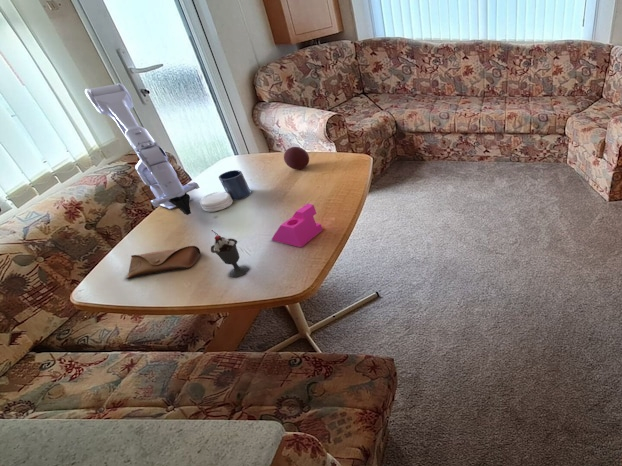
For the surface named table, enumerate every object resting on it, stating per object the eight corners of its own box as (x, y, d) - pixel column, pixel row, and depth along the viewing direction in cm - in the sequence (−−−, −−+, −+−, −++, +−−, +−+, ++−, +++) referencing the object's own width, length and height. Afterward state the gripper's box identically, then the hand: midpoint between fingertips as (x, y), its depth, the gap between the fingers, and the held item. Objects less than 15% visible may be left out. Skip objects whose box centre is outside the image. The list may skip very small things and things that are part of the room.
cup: (224, 197, 151) (214, 177, 146) (242, 188, 157) (233, 168, 152) (237, 201, 148) (226, 181, 143) (255, 192, 154) (245, 172, 149)
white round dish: (238, 203, 147) (234, 195, 145) (211, 215, 141) (207, 207, 139) (225, 196, 152) (221, 188, 150) (198, 207, 145) (193, 200, 143)
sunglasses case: (123, 279, 112) (116, 257, 111) (139, 275, 119) (133, 254, 118) (192, 267, 116) (186, 246, 115) (204, 263, 123) (199, 243, 122)
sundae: (232, 265, 117) (209, 225, 108) (255, 263, 117) (233, 224, 108) (221, 280, 112) (196, 239, 103) (245, 278, 112) (222, 238, 103)
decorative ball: (316, 167, 171) (309, 147, 165) (293, 175, 166) (285, 154, 160) (306, 161, 177) (299, 141, 171) (284, 168, 171) (276, 148, 165)
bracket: (322, 229, 131) (313, 204, 125) (301, 247, 124) (290, 221, 118) (295, 224, 135) (285, 199, 129) (272, 240, 127) (260, 215, 121)
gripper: (151, 192, 123) (173, 226, 131) (196, 173, 133) (214, 206, 141) (139, 188, 126) (161, 221, 134) (184, 170, 136) (202, 202, 144)
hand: (187, 213), depth 138 cm, fingers closed
